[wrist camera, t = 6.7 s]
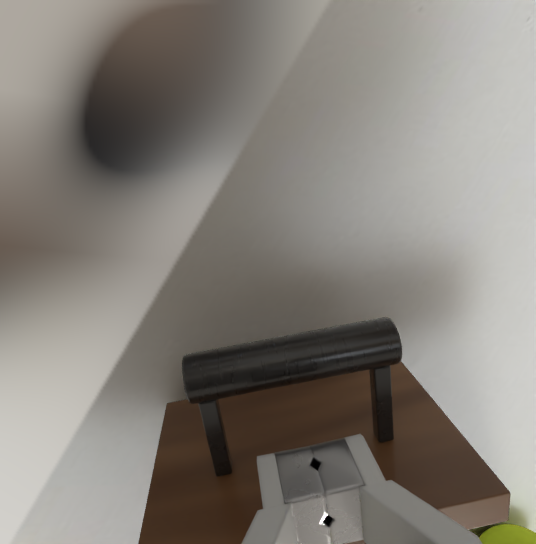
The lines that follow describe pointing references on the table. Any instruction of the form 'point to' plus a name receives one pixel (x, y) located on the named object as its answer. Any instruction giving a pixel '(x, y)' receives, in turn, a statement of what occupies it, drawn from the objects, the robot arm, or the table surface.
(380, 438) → the drawer
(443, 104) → the table surface
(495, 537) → the tennis ball
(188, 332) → the table surface
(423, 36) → the table surface
